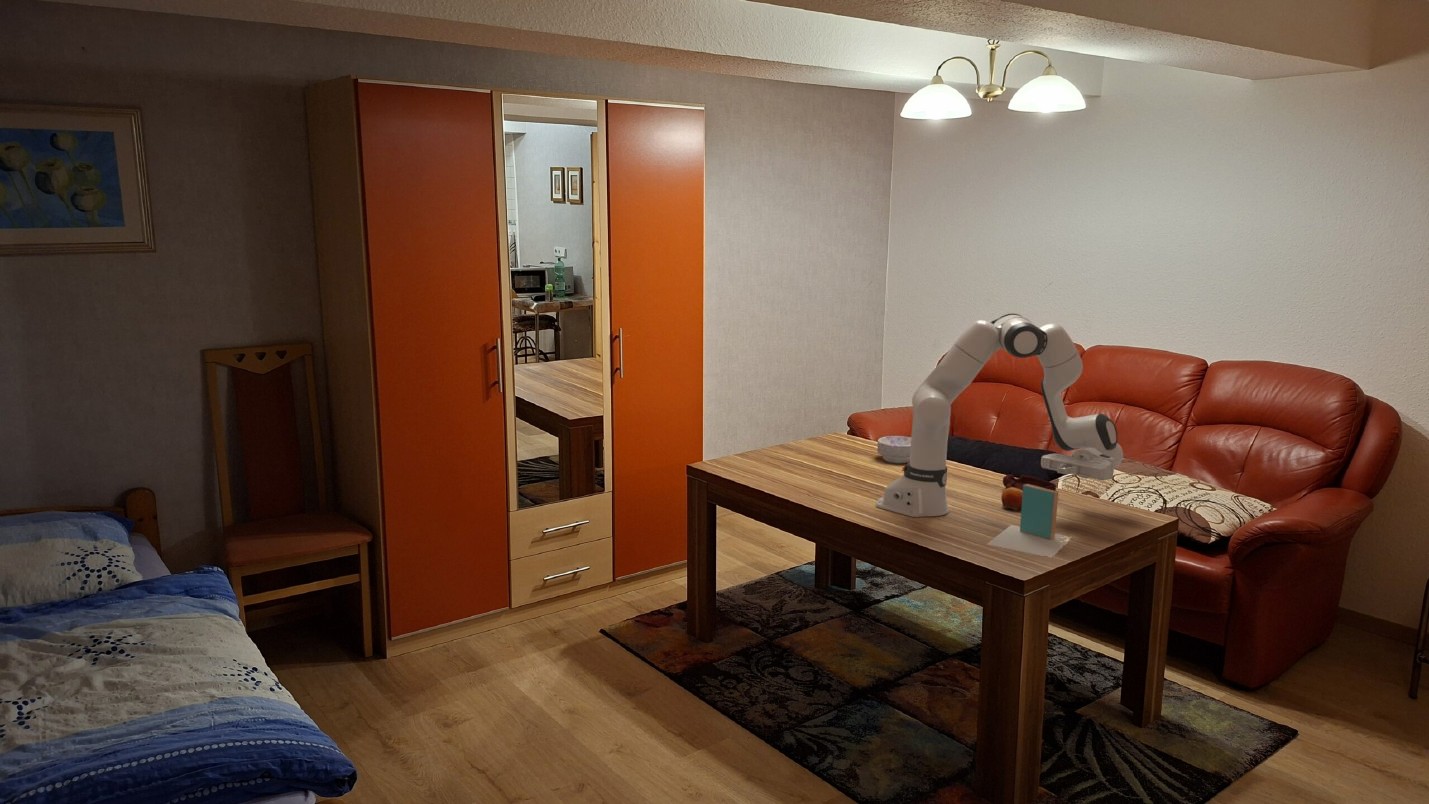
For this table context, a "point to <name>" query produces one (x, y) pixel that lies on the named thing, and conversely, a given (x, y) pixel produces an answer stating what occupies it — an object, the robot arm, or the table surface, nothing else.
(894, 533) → the table surface
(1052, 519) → the tile
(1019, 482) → the ashtray
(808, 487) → the table surface
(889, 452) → the white patterned bowl
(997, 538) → the mat
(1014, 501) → the fruit
